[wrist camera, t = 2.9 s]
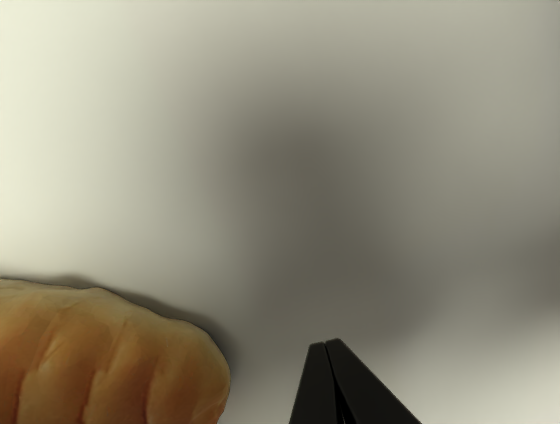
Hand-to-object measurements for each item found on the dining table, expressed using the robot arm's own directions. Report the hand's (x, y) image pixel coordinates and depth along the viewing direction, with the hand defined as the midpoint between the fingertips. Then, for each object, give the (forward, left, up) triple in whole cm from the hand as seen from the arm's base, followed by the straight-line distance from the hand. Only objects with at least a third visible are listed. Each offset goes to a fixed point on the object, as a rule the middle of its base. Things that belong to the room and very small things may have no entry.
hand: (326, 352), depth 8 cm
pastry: (+8, -1, -2) cm, 9 cm away
